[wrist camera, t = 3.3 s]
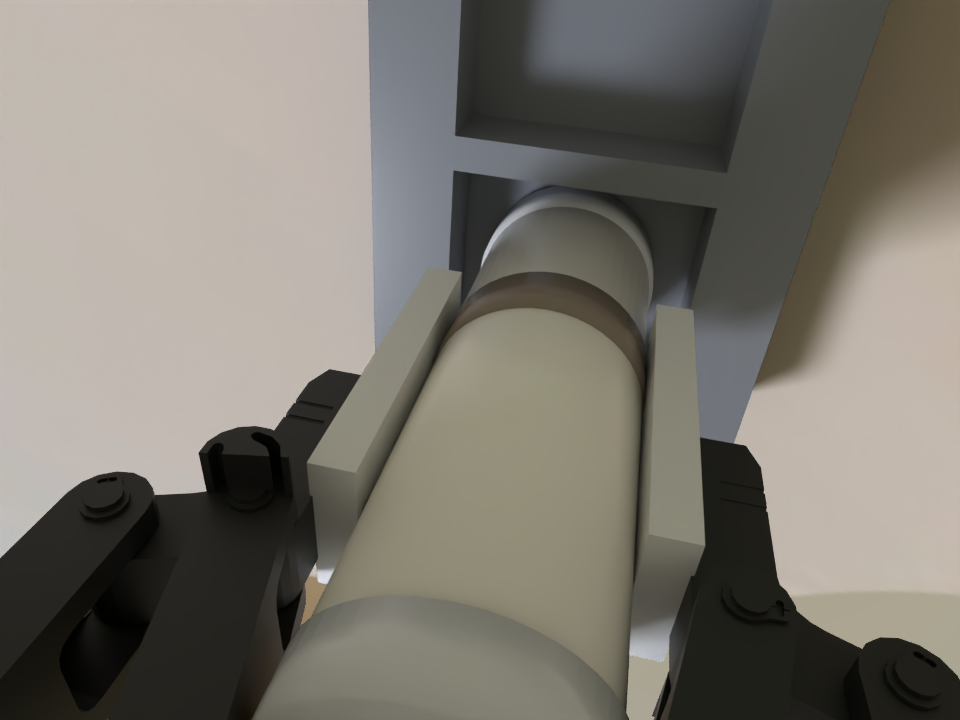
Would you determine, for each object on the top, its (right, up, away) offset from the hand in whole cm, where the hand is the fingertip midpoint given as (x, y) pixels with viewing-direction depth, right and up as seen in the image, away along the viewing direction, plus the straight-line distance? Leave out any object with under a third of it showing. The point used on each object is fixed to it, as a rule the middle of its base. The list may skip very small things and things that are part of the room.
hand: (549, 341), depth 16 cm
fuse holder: (+1, +5, +2) cm, 6 cm away
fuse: (+1, +2, +3) cm, 4 cm away
